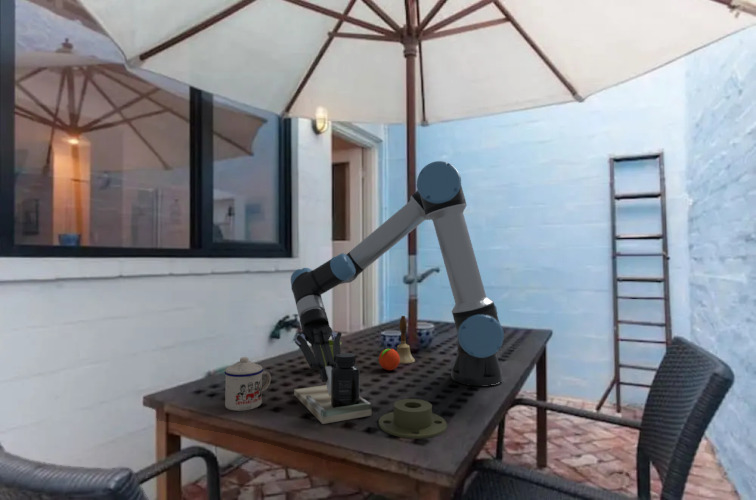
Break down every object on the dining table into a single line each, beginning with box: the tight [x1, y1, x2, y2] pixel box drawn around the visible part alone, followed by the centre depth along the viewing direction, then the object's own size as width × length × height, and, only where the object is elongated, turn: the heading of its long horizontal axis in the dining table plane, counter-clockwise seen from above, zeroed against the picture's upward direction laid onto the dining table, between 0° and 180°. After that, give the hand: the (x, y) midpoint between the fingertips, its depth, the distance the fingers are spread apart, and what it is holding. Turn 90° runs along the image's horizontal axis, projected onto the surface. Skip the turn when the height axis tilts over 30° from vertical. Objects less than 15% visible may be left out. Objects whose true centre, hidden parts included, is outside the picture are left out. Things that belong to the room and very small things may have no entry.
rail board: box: [293, 384, 372, 425], centre depth 108 cm, size 22×12×3 cm, turn 27°
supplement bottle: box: [331, 352, 361, 408], centre depth 103 cm, size 7×7×12 cm
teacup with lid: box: [224, 356, 272, 412], centre depth 108 cm, size 12×9×12 cm
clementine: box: [378, 347, 400, 371], centre depth 141 cm, size 8×7×7 cm
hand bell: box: [396, 315, 416, 365], centre depth 154 cm, size 8×8×16 cm
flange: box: [378, 398, 448, 440], centre depth 96 cm, size 5×15×15 cm
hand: (333, 392), depth 106 cm, fingers closed
